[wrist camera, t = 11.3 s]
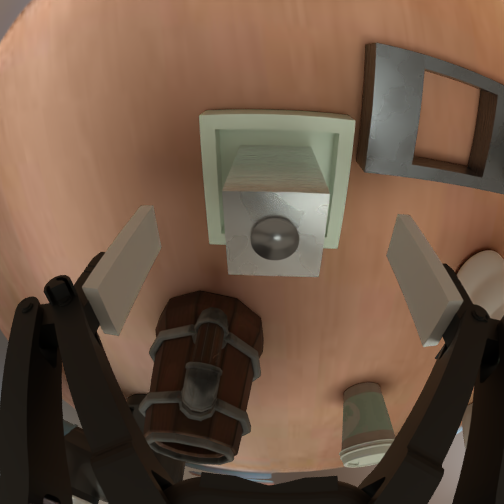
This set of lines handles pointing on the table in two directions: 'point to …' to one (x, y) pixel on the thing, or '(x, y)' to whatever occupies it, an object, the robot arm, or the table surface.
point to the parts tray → (275, 134)
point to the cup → (466, 422)
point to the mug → (202, 378)
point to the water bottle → (485, 281)
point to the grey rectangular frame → (407, 120)
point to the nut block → (275, 212)
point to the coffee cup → (365, 426)
